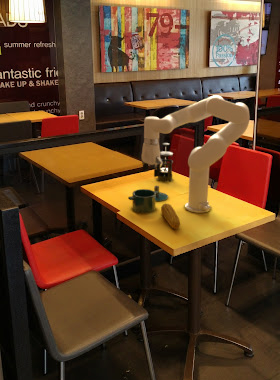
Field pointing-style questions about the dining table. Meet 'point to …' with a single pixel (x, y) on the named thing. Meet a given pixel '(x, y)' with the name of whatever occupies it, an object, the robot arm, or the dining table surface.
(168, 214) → the food
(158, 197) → the lid
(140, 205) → the pot
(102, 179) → the dining table surface
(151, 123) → the robot arm
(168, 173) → the french press
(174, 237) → the dining table surface
